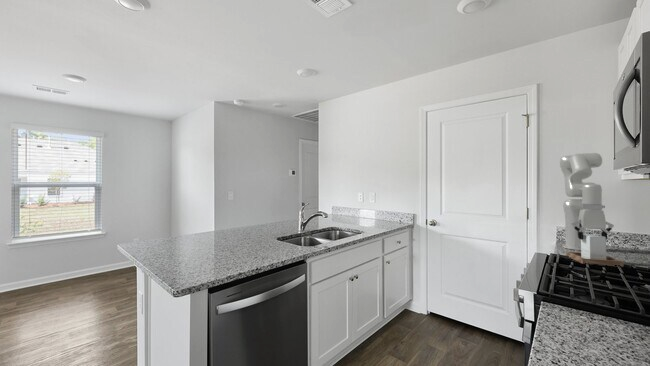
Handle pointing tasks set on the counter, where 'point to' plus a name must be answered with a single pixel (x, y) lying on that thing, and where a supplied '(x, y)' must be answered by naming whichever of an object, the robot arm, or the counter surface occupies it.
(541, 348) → the counter surface
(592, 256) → the supplement box
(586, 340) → the counter surface
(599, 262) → the walnut tray
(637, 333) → the counter surface
